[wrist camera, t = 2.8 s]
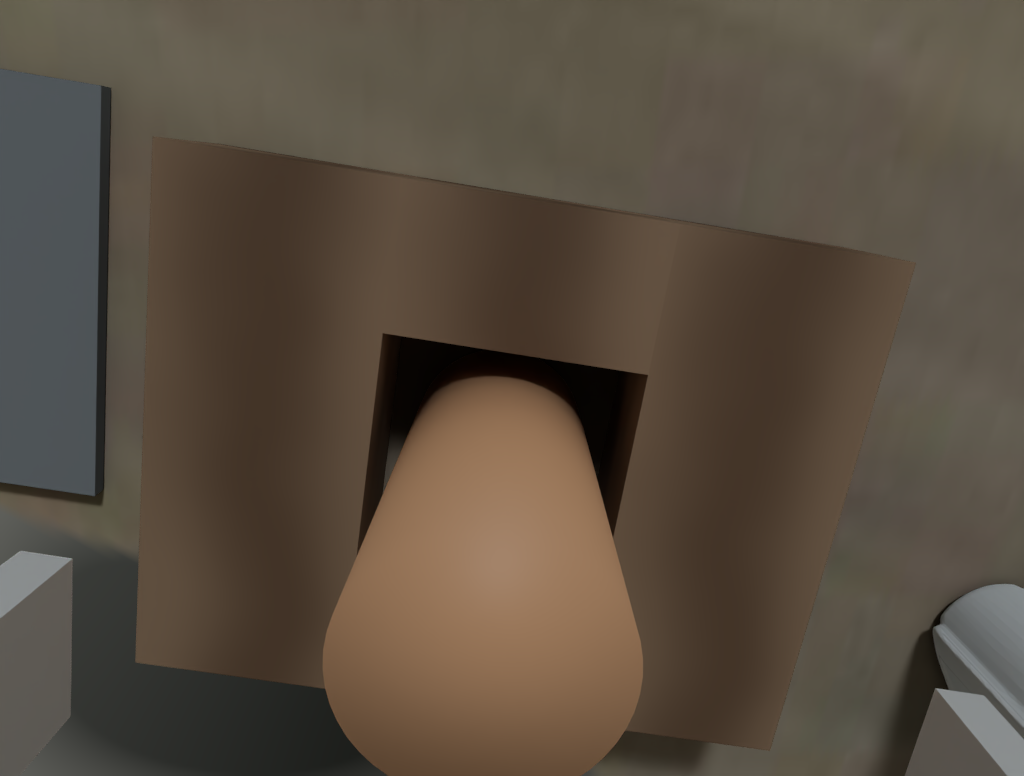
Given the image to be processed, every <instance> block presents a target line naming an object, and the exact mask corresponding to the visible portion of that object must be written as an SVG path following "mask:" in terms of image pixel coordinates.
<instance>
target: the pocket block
mask: <svg viewBox="0 0 1024 776" xmlns="http://www.w3.org/2000/svg"><path fill="white" fill-rule="evenodd" d="M915 265H916V263H914V262H910V261H905V260H900V259H896V258H891V257H886V256H882V255H877V254H872V253H868V252H863V251H858V250H854V249H849V248H844V247H838V246H832V245H826V244H820V243H814V242H808V241H802V240H796V239H790V238H784V237H778V236H772V235H766V234H760V233H754V232H747V231H741V230H735V229H729V228H723V227H717V226H711V225H705V224H699V223H693V222H687V221H681V220H675V219H669V218H663V217H657V216H651V215H645V214H639V213H633V212H627V211H621V210H615V209H609V208H603V207H596V206H590V205H584V204H578V203H572V202H566V201H560V200H554V199H548V198H542V197H536V196H530V195H524V194H518V193H512V192H506V191H500V190H494V189H488V188H482V187H476V186H470V185H464V184H458V183H452V182H446V181H439V180H433V179H427V178H421V177H415V176H409V175H403V174H397V173H391V172H385V171H379V170H373V169H367V168H361V167H355V166H349V165H343V164H337V163H331V162H325V161H319V160H313V159H307V158H301V157H295V156H289V155H282V154H276V153H270V152H264V151H258V150H252V149H246V148H240V147H234V146H228V145H222V144H215V143H206V142H197V141H188V140H179V139H170V138H161V137H153V143H152V173H151V204H150V234H149V265H148V295H147V326H146V356H145V387H144V417H143V448H142V478H141V509H140V539H139V572H138V600H137V631H136V663H143V664H151V665H158V666H165V667H172V668H180V669H187V670H194V671H201V672H208V673H215V674H223V675H230V676H237V677H244V678H252V679H258V680H266V681H273V682H280V683H287V684H294V685H301V686H309V687H316V688H323V689H325V685H324V677H323V648H324V642H325V637H326V632H327V629H328V626H329V623H330V620H331V617H332V615H333V612H334V610H335V607H336V605H337V603H338V600H339V598H340V595H341V593H342V591H343V588H344V586H345V583H346V581H347V579H348V576H349V574H350V572H351V569H352V567H353V564H354V562H355V560H356V557H357V555H358V552H359V550H360V548H361V545H362V543H363V540H364V538H365V536H366V533H367V531H368V529H369V526H370V524H371V521H372V519H373V517H374V514H375V512H376V509H377V507H378V505H379V502H380V500H381V497H382V492H383V483H384V475H385V467H386V459H387V451H388V443H389V435H390V427H391V419H392V411H393V403H394V395H395V387H396V379H397V371H398V362H399V354H400V346H401V338H402V336H404V337H410V338H417V339H423V340H429V341H436V342H442V343H448V344H455V345H461V346H467V347H474V348H480V349H487V350H493V351H499V352H506V353H512V354H518V355H525V356H531V357H537V358H544V359H550V360H556V361H563V362H569V363H575V364H582V365H588V366H594V367H601V368H607V369H614V370H620V372H619V376H618V381H617V386H616V391H615V396H614V401H613V406H612V411H611V416H610V421H609V425H608V430H607V435H606V440H605V445H604V450H603V455H602V460H601V465H600V469H599V474H598V479H597V481H598V484H599V488H600V492H601V496H602V499H603V503H604V507H605V510H606V514H607V518H608V522H609V525H610V529H611V533H612V537H613V540H614V544H615V548H616V551H617V555H618V559H619V563H620V566H621V570H622V574H623V577H624V581H625V585H626V589H627V592H628V596H629V600H630V603H631V607H632V611H633V615H634V618H635V622H636V626H637V630H638V633H639V637H640V641H641V648H642V655H643V679H642V686H641V692H640V696H639V699H638V703H637V706H636V709H635V712H634V714H633V716H632V718H631V720H630V722H629V724H628V726H627V728H626V730H625V731H632V732H639V733H646V734H653V735H661V736H668V737H675V738H682V739H689V740H696V741H704V742H711V743H718V744H725V745H732V746H740V747H747V748H754V749H761V750H768V751H770V749H771V745H772V742H773V739H774V735H775V732H776V729H777V725H778V722H779V719H780V715H781V712H782V709H783V705H784V702H785V699H786V695H787V692H788V689H789V685H790V682H791V679H792V675H793V672H794V669H795V665H796V662H797V659H798V655H799V652H800V649H801V645H802V642H803V639H804V635H805V632H806V629H807V625H808V622H809V619H810V615H811V612H812V609H813V605H814V602H815V599H816V595H817V592H818V589H819V585H820V582H821V578H822V575H823V572H824V568H825V565H826V562H827V558H828V555H829V552H830V548H831V545H832V542H833V538H834V535H835V532H836V528H837V525H838V522H839V518H840V515H841V512H842V508H843V505H844V502H845V498H846V495H847V492H848V488H849V485H850V482H851V478H852V475H853V472H854V468H855V465H856V462H857V458H858V455H859V452H860V448H861V445H862V442H863V438H864V435H865V432H866V428H867V425H868V422H869V418H870V415H871V412H872V408H873V405H874V402H875V398H876V395H877V392H878V388H879V385H880V382H881V378H882V375H883V372H884V368H885V365H886V362H887V358H888V355H889V352H890V348H891V345H892V342H893V338H894V335H895V332H896V328H897V325H898V322H899V318H900V315H901V312H902V308H903V305H904V302H905V298H906V295H907V292H908V288H909V285H910V282H911V278H912V275H913V271H914V268H915Z"/></svg>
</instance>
